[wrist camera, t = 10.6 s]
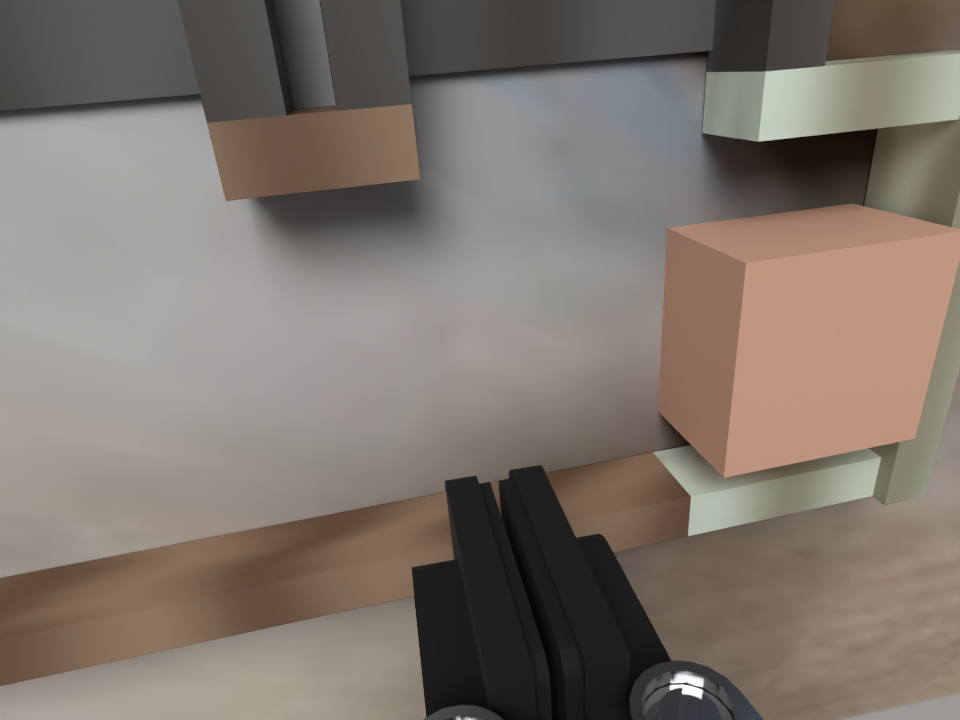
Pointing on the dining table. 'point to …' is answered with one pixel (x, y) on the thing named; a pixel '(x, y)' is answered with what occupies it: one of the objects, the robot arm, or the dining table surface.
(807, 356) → the block
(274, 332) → the dining table surface
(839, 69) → the trap lane
